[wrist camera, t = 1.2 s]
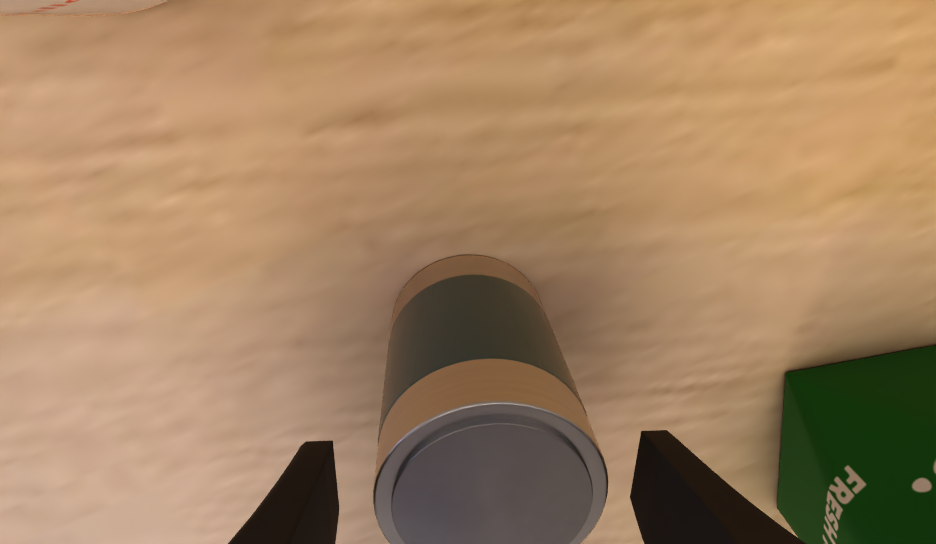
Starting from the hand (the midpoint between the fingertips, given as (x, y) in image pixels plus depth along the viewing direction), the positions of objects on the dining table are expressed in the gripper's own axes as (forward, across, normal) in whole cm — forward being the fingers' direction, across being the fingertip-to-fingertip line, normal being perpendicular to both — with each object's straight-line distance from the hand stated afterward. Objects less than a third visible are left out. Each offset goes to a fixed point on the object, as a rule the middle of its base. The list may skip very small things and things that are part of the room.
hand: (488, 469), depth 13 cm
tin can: (+7, 0, 0) cm, 7 cm away
